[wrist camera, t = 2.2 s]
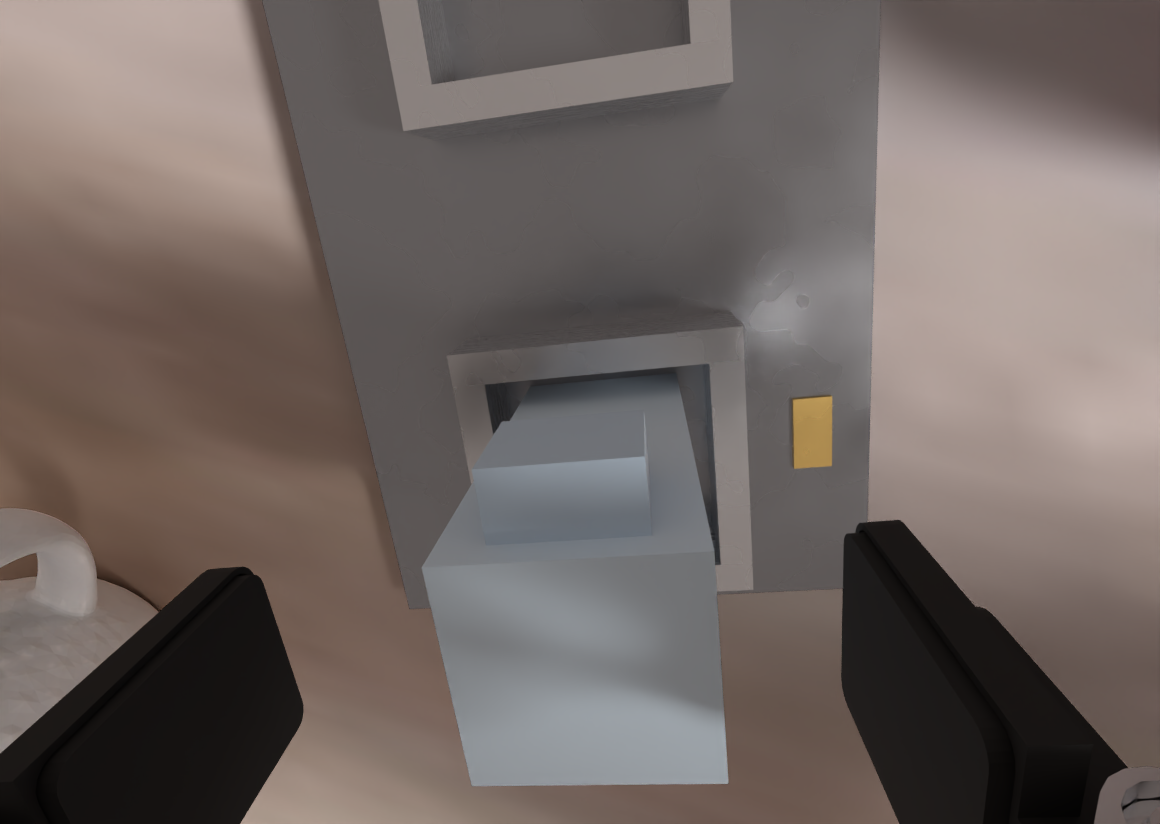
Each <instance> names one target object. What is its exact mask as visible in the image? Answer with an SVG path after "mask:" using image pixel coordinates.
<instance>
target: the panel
mask: <svg viewBox="0 0 1160 824" xmlns="http://www.w3.org/2000/svg"><path fill="white" fill-rule="evenodd" d="M262 2H263V6H264V10H265V14H266V18H267V22H268V26H269V30H270V35H271V39H272V43H273V47H274V51H275V55H276V59H277V64H278V68H279V72H280V76H281V80H282V84H283V88H284V92H285V97H286V101H287V105H288V109H289V113H290V117H291V121H292V125H293V130H294V134H295V138H296V142H297V146H298V150H299V154H300V159H301V163H302V167H303V171H304V175H305V179H306V183H307V187H308V192H309V196H310V200H311V204H312V208H313V212H314V216H315V221H316V225H317V229H318V233H319V237H320V241H321V245H322V249H323V254H324V258H325V262H326V266H327V270H328V274H329V278H330V282H331V287H332V291H333V295H334V299H335V303H336V307H337V311H338V316H339V320H340V324H341V328H342V332H343V336H344V340H345V344H346V349H347V353H348V357H349V361H350V365H351V369H352V373H353V377H354V382H355V386H356V390H357V394H358V398H359V402H360V406H361V411H362V415H363V419H364V423H365V427H366V431H367V435H368V439H369V444H370V448H371V452H372V456H373V460H374V464H375V468H376V473H377V477H378V481H379V485H380V489H381V493H382V497H383V501H384V506H385V510H386V514H387V518H388V522H389V526H390V530H391V534H392V539H393V543H394V547H395V551H396V555H397V559H398V563H399V568H400V572H401V576H402V580H403V584H404V588H405V592H406V596H407V601H408V605H409V609H422V608H431V607H430V602H429V598H428V594H427V589H426V585H425V581H424V576H423V572H422V566H423V564H424V563H425V561H426V559H427V558H428V556H429V554H430V553H431V551H432V549H433V548H434V546H435V544H436V543H437V541H438V539H439V538H440V536H441V534H442V533H443V531H444V529H445V528H446V526H447V524H448V523H449V521H450V519H451V518H452V516H453V514H454V513H455V511H456V509H457V508H458V506H459V504H460V503H461V501H462V499H463V498H464V496H465V494H466V493H467V491H468V489H469V488H470V486H471V484H472V483H473V481H474V480H473V475H472V468H473V467H474V465H475V463H476V462H477V460H478V459H479V457H480V455H481V454H482V452H483V451H484V449H485V448H486V446H487V444H488V443H489V441H490V440H491V438H492V437H493V435H494V433H495V432H496V430H497V429H498V427H499V425H500V424H501V422H503V421H510V420H511V418H512V416H513V415H514V413H515V411H516V410H517V408H518V406H519V405H520V403H521V401H522V400H523V398H524V396H525V395H526V393H527V391H528V390H529V388H530V386H541V385H551V384H562V383H573V382H584V381H595V380H606V379H616V378H627V377H638V376H649V375H660V374H671V373H676V374H677V379H678V383H679V388H680V393H681V397H682V402H683V407H684V411H685V416H686V421H687V425H688V430H689V435H690V439H691V444H692V449H693V453H694V458H695V463H696V467H697V472H698V477H699V482H700V486H701V491H702V496H703V500H704V505H705V510H706V514H707V519H708V524H709V528H710V533H711V538H712V542H713V547H714V553H715V569H716V586H717V594H738V593H759V592H780V591H801V590H822V589H843V549H844V537H845V535H846V534H847V533H855V532H856V527H857V525H858V524H859V523H864V522H867V517H868V478H869V439H870V400H871V361H872V322H873V283H874V244H875V204H876V165H877V126H878V87H879V48H880V9H881V0H262Z"/></svg>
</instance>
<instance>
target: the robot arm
mask: <svg viewBox="0 0 1160 824" xmlns="http://www.w3.org/2000/svg"><path fill="white" fill-rule="evenodd" d="M841 678H842V688H843V692H844V696H845V700H846V703H847V705H848V708H849V710H850V712H851V715H852V717H853V719H854V721H855V724H856V726H857V728H858V730H859V733H860V735H861V737H862V740H863V742H864V744H865V746H866V749H867V751H868V753H869V756H870V758H871V760H872V762H873V765H874V767H875V769H876V771H877V774H878V776H879V778H880V781H881V783H882V785H883V787H884V790H885V792H886V794H887V797H888V799H889V801H890V803H891V806H892V808H893V810H894V812H895V815H896V817H897V819H898V822H899V824H1160V768H1158V767H1150V766H1144V767H1135V768H1128V767H1127V766H1126V765H1125V764H1124V763H1123V762H1122V760H1121V759H1120V758H1119V757H1118V756H1117V755H1116V754H1115V752H1114V751H1113V750H1112V749H1111V748H1110V747H1109V746H1108V745H1107V743H1106V742H1105V741H1104V740H1103V739H1102V738H1101V737H1100V735H1099V734H1098V733H1097V732H1096V731H1095V730H1094V729H1093V728H1092V726H1091V725H1090V724H1089V723H1088V722H1087V721H1086V720H1085V719H1084V717H1083V716H1082V715H1081V714H1080V713H1079V712H1078V711H1077V709H1076V708H1075V707H1074V706H1073V705H1072V704H1071V703H1070V702H1069V700H1068V699H1067V698H1066V697H1065V696H1064V695H1063V694H1062V692H1061V691H1060V690H1059V689H1058V688H1057V687H1056V686H1055V685H1054V683H1053V682H1052V681H1051V680H1050V679H1049V678H1048V677H1047V675H1046V674H1045V673H1044V672H1043V671H1042V670H1041V669H1040V668H1039V666H1038V665H1037V664H1036V663H1035V662H1034V661H1033V660H1032V659H1031V657H1030V656H1029V655H1028V654H1027V653H1026V652H1025V651H1024V649H1023V648H1022V647H1021V646H1020V645H1019V644H1018V643H1017V642H1016V640H1015V639H1014V638H1013V637H1012V636H1011V635H1010V634H1009V632H1008V631H1007V630H1006V629H1005V628H1004V627H1003V626H1002V625H1001V623H1000V622H999V621H998V620H997V619H996V618H995V617H994V616H993V615H992V614H991V613H990V612H989V611H987V610H986V609H984V608H981V607H975V606H974V605H973V604H972V602H971V601H970V600H969V599H968V598H967V597H966V595H965V594H964V593H963V592H962V591H961V590H960V588H959V587H958V586H957V585H956V584H955V583H954V581H953V580H952V579H951V578H950V577H949V576H948V574H947V573H946V572H945V571H944V570H943V569H942V567H941V566H940V565H939V564H938V563H937V562H936V560H935V559H934V558H933V557H932V556H931V555H930V553H929V552H928V551H927V550H926V549H925V548H924V546H923V545H922V544H921V543H920V542H919V541H918V539H917V538H916V537H915V536H914V535H913V534H912V532H911V531H910V530H909V529H908V528H907V527H906V525H905V524H904V523H903V522H901V521H900V520H892V521H878V522H864V523H859V524H858V525H857V527H856V532H855V533H847V534H846V535H845V537H844V549H843V609H842V669H841ZM302 718H303V702H302V698H301V695H300V692H299V689H298V686H297V683H296V680H295V677H294V674H293V671H292V668H291V665H290V662H289V659H288V656H287V653H286V650H285V647H284V644H283V641H282V638H281V635H280V632H279V629H278V626H277V623H276V620H275V617H274V614H273V611H272V608H271V605H270V602H269V599H268V596H267V593H266V590H265V587H264V584H263V582H262V580H261V578H260V577H259V576H257V575H254V574H253V572H252V571H251V570H250V569H249V568H246V567H232V568H218V569H210V570H207V571H205V572H204V573H202V574H201V575H200V576H199V577H198V578H197V579H196V580H194V581H193V582H192V583H191V584H190V585H189V586H188V587H187V588H185V589H184V590H183V591H182V592H181V593H180V594H179V595H178V596H177V597H175V598H174V599H173V600H172V601H171V602H170V603H169V604H168V605H166V606H165V607H164V608H163V609H162V610H161V611H160V612H159V613H157V614H156V615H155V616H154V617H153V618H152V619H151V620H150V621H148V622H147V623H146V624H145V625H144V626H143V627H142V628H141V629H139V630H138V631H137V632H136V633H135V634H134V635H133V636H132V637H130V638H129V639H128V640H127V641H126V642H125V643H124V644H123V645H121V646H120V647H119V648H118V649H117V650H116V651H115V652H114V653H112V654H111V655H110V656H109V657H108V658H107V659H106V660H105V661H103V662H102V663H101V664H100V665H99V666H98V667H97V668H96V669H94V670H93V671H92V672H91V673H90V674H89V675H88V676H87V677H85V678H84V679H83V680H82V681H81V682H80V683H79V684H78V685H76V686H75V687H74V688H73V689H72V690H71V691H70V692H69V693H68V694H66V695H65V696H64V697H63V698H62V699H61V700H60V701H59V702H57V703H56V704H55V705H54V706H53V707H52V708H51V709H50V710H48V711H47V712H46V713H45V714H44V715H43V716H42V717H41V718H39V719H38V720H37V721H36V722H35V723H34V724H33V725H32V726H30V727H29V728H28V729H27V730H26V731H25V732H24V733H23V734H21V735H20V736H19V737H18V738H17V739H16V740H15V741H14V742H12V743H11V744H10V745H9V746H8V747H7V748H6V749H5V750H3V751H2V752H1V753H0V824H240V823H241V821H242V819H243V818H244V816H245V815H246V813H247V811H248V810H249V808H250V806H251V805H252V803H253V802H254V800H255V798H256V797H257V795H258V793H259V792H260V790H261V789H262V787H263V785H264V784H265V782H266V780H267V779H268V777H269V776H270V774H271V772H272V771H273V769H274V767H275V766H276V764H277V763H278V761H279V759H280V758H281V756H282V754H283V753H284V751H285V749H286V748H287V746H288V745H289V743H290V741H291V740H292V738H293V736H294V735H295V733H296V732H297V730H298V728H299V726H300V724H301V721H302Z"/></svg>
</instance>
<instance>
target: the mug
mask: <svg viewBox="0 0 1160 824" xmlns="http://www.w3.org/2000/svg"><path fill="white" fill-rule="evenodd" d="M33 553H36V555H37V559H38V573H37V577H26V578H20V579H14V580H2V581H0V753H1V752H2V751H3V750H5V749H6V748H7V747H8V746H9V745H10V744H11V743H12V742H14V741H15V740H16V739H17V738H18V737H19V736H20V735H21V734H23V733H24V732H25V731H26V730H27V729H28V728H29V727H30V726H32V725H33V724H34V723H35V722H36V721H37V720H38V719H39V718H41V717H42V716H43V715H44V714H45V713H46V712H47V711H48V710H50V709H51V708H52V707H53V706H54V705H55V704H56V703H57V702H59V701H60V700H61V699H62V698H63V697H64V696H65V695H66V694H68V693H69V692H70V691H71V690H72V689H73V688H74V687H75V686H76V685H78V684H79V683H80V682H81V681H82V680H83V679H84V678H85V677H87V676H88V675H89V674H90V673H91V672H92V671H93V670H94V669H96V668H97V667H98V666H99V665H100V664H101V663H102V662H103V661H105V660H106V659H107V658H108V657H109V656H110V655H111V654H112V653H114V652H115V651H116V650H117V649H118V648H119V647H120V646H121V645H123V644H124V643H125V642H126V641H127V640H128V639H129V638H130V637H132V636H133V635H134V634H135V633H136V632H137V631H138V630H139V629H141V628H142V627H143V626H144V625H145V624H146V623H147V622H148V621H150V620H151V619H152V618H153V617H154V616H155V615H156V614H157V613H159V612H158V611H157V610H156V609H155V608H154V607H153V606H151V605H150V604H149V603H148V602H146V601H145V600H143V599H142V598H140V597H139V596H137V595H136V594H134V593H132V592H130V591H129V590H127V589H125V588H122V587H120V586H118V585H115V584H112V583H110V582H107V581H104V580H100V579H97V573H96V565H95V562H94V558H93V555H92V552H91V550H90V548H89V546H88V544H87V542H86V541H85V539H84V538H83V537H82V536H81V535H80V534H79V533H78V532H77V531H76V530H75V529H73V528H72V527H71V526H69V525H68V524H66V523H65V522H63V521H61V520H59V519H57V518H55V517H53V516H50V515H47V514H44V513H41V512H38V511H34V510H28V509H21V508H2V509H0V568H1V567H3V566H5V565H7V564H9V563H11V562H13V561H15V560H17V559H19V558H22V557H24V556H27V555H30V554H33Z"/></svg>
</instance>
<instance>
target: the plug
mask: <svg viewBox="0 0 1160 824" xmlns="http://www.w3.org/2000/svg"><path fill="white" fill-rule="evenodd" d="M472 475H473V480H474V481H473V483H472V484H471V486H470V488H469V489H468V491H467V493H466V494H465V496H464V498H463V499H462V501H461V503H460V504H459V506H458V508H457V509H456V511H455V513H454V514H453V516H452V518H451V519H450V521H449V523H448V524H447V526H446V528H445V529H444V531H443V533H442V534H441V536H440V538H439V539H438V541H437V543H436V544H435V546H434V548H433V549H432V551H431V553H430V554H429V556H428V558H427V559H426V561H425V563H424V564H423V566H422V572H423V576H424V581H425V585H426V589H427V594H428V598H429V602H430V607H431V611H432V615H433V620H434V624H435V628H436V633H437V637H438V642H439V646H440V650H441V655H442V659H443V663H444V668H445V672H446V676H447V681H448V685H449V689H450V694H451V698H452V703H453V707H454V711H455V716H456V720H457V724H458V729H459V733H460V737H461V742H462V746H463V751H464V755H465V759H466V764H467V768H468V772H469V777H470V781H471V785H472V786H551V785H653V784H729V783H728V766H727V750H726V734H725V717H724V701H723V684H722V668H721V651H720V635H719V619H718V602H717V586H716V569H715V553H714V547H713V542H712V538H711V533H710V528H709V524H708V519H707V514H706V510H705V505H704V500H703V496H702V491H701V486H700V482H699V477H698V472H697V467H696V463H695V458H694V453H693V449H692V444H691V439H690V435H689V430H688V425H687V421H686V416H685V411H684V407H683V402H682V397H681V393H680V388H679V383H678V379H677V374H676V373H671V374H660V375H649V376H638V377H627V378H616V379H606V380H595V381H584V382H573V383H562V384H551V385H541V386H530V388H529V390H528V391H527V393H526V395H525V396H524V398H523V400H522V401H521V403H520V405H519V406H518V408H517V410H516V411H515V413H514V415H513V416H512V418H511V420H510V421H503V422H501V424H500V425H499V427H498V429H497V430H496V432H495V433H494V435H493V437H492V438H491V440H490V441H489V443H488V444H487V446H486V448H485V449H484V451H483V452H482V454H481V455H480V457H479V459H478V460H477V462H476V463H475V465H474V467H473V468H472Z"/></svg>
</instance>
